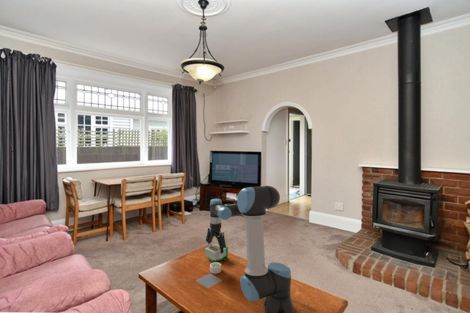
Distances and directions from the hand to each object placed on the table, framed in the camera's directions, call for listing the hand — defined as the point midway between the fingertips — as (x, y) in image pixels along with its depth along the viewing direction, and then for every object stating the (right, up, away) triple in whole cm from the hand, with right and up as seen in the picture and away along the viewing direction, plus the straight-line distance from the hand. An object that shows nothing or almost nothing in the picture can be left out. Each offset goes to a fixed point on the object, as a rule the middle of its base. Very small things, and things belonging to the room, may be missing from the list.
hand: (215, 254), depth 168 cm
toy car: (0, -10, +17) cm, 20 cm away
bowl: (0, -11, +1) cm, 11 cm away
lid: (0, 0, 0) cm, 0 cm away
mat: (-3, -12, -12) cm, 17 cm away
